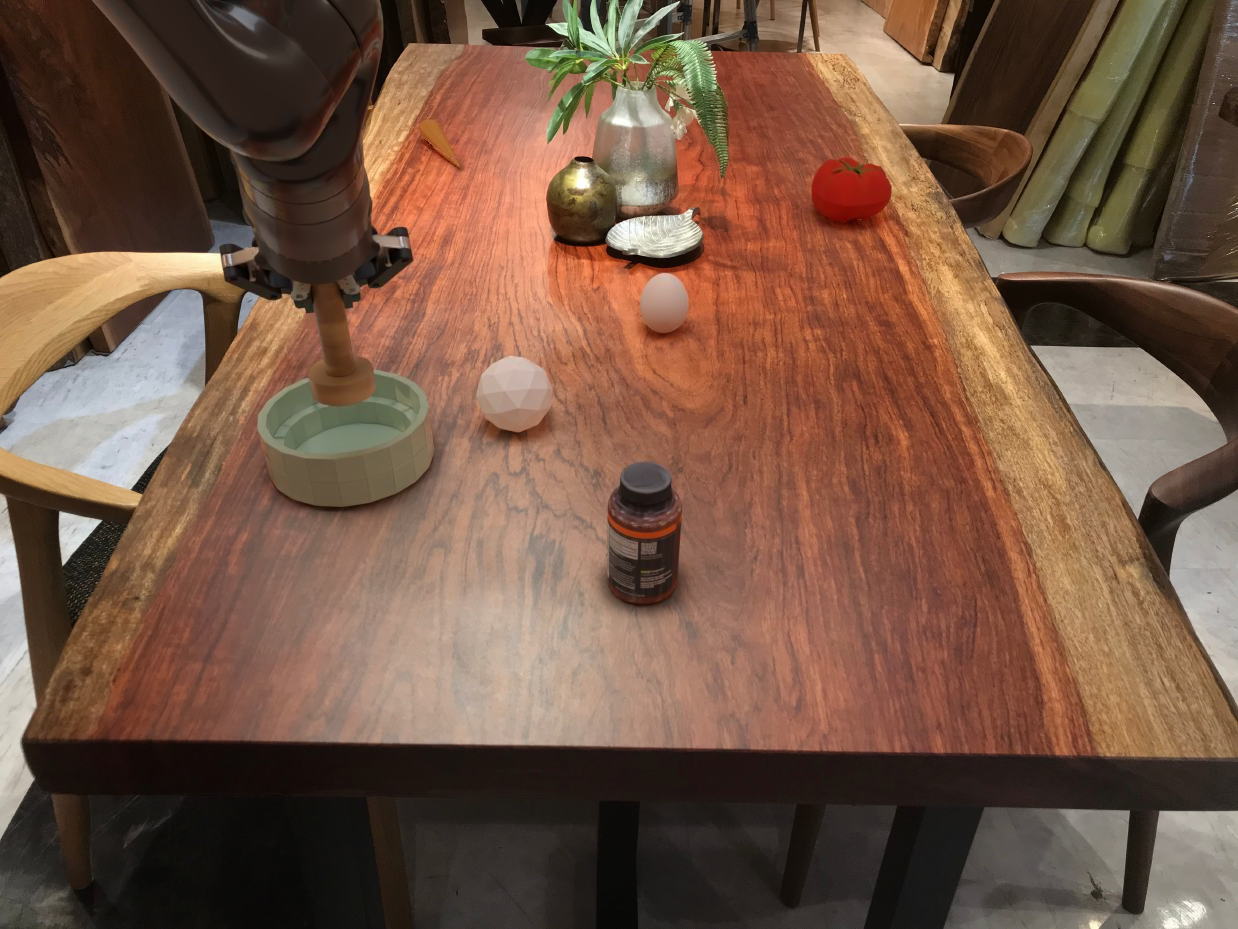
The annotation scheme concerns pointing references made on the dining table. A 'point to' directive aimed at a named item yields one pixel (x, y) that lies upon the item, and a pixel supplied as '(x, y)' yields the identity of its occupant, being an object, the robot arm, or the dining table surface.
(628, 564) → the supplement bottle
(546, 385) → the geometric ball
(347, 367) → the wooden peg on base
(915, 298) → the dining table surface
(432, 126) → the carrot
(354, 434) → the bowl
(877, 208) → the tomato
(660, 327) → the egg
